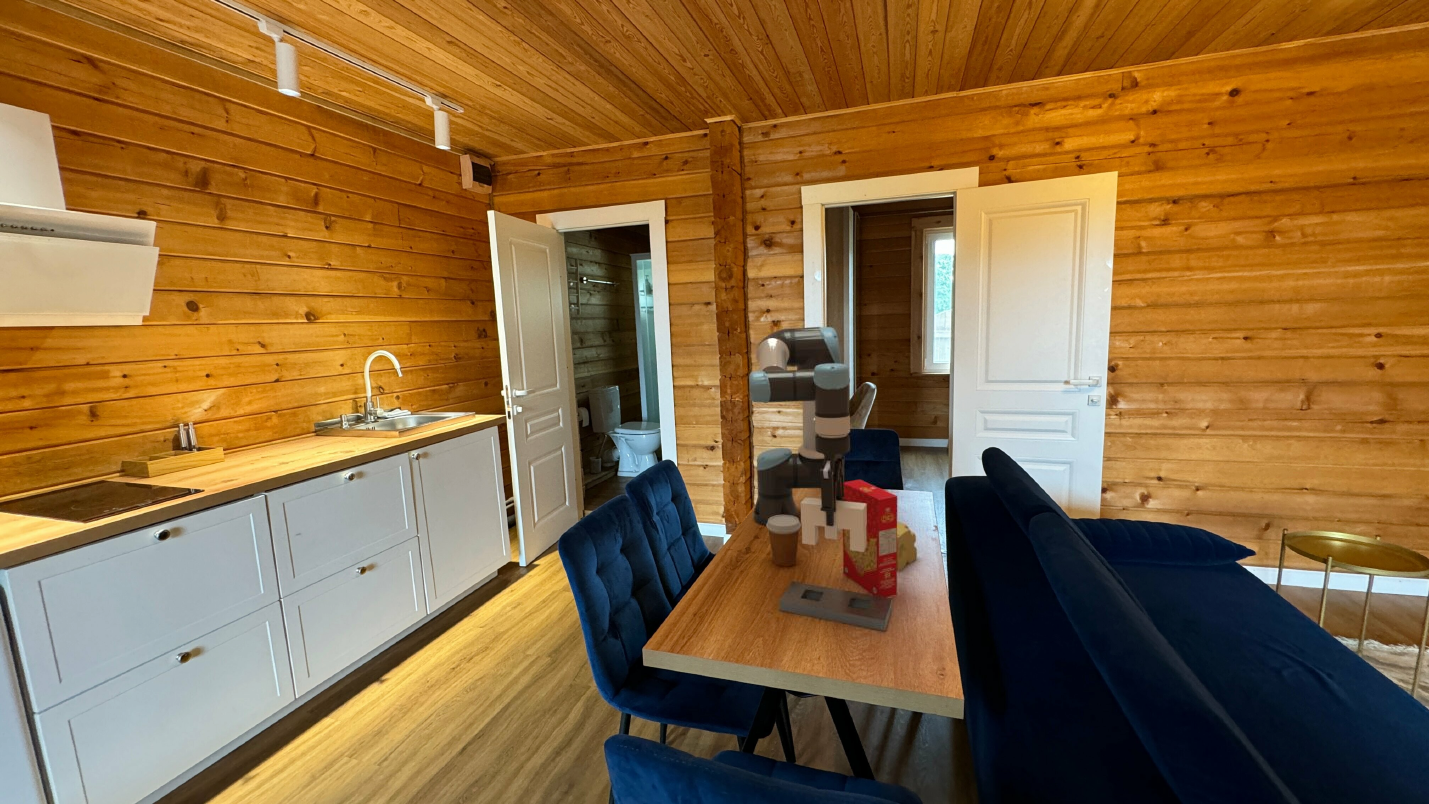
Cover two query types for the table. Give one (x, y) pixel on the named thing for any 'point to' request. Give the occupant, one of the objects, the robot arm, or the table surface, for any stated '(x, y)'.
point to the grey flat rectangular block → (837, 605)
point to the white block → (847, 518)
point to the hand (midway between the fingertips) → (833, 534)
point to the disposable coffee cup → (784, 538)
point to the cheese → (905, 546)
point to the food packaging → (873, 540)
